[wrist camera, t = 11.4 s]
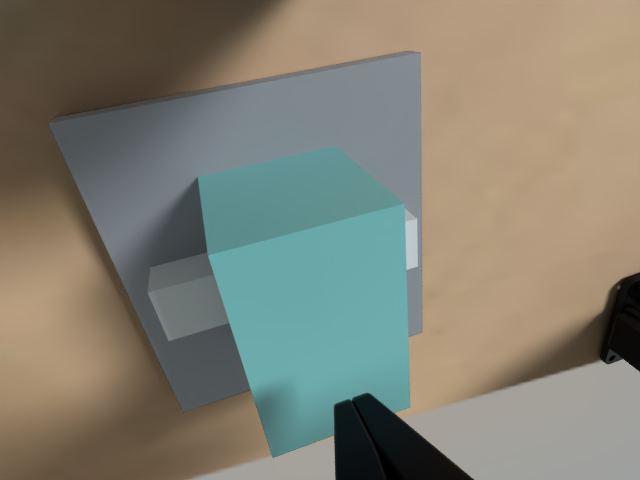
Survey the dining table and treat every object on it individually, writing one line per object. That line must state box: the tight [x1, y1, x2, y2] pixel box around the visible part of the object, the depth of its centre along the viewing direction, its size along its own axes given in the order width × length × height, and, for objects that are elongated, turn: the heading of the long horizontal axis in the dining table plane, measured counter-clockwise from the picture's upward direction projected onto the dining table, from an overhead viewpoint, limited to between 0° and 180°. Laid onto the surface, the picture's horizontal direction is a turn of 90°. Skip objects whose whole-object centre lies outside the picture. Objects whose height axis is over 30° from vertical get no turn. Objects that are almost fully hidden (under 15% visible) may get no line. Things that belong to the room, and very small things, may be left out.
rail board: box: [48, 51, 422, 412], centre depth 15 cm, size 11×12×2 cm
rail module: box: [198, 146, 410, 458], centre depth 13 cm, size 4×7×5 cm, turn 8°
